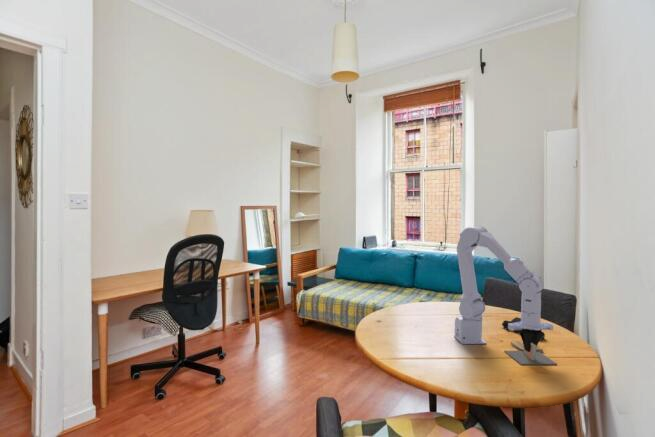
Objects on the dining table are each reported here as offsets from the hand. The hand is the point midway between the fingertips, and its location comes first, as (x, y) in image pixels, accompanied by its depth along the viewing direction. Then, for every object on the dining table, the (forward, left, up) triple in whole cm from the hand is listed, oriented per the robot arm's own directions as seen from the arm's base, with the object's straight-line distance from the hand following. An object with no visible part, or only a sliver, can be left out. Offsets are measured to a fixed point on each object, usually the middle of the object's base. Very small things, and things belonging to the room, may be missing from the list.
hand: (529, 350), depth 115 cm
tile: (0, 0, -2) cm, 2 cm away
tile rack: (+4, +8, -3) cm, 9 cm away
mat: (0, 0, -3) cm, 3 cm away
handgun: (+14, +25, -3) cm, 29 cm away
